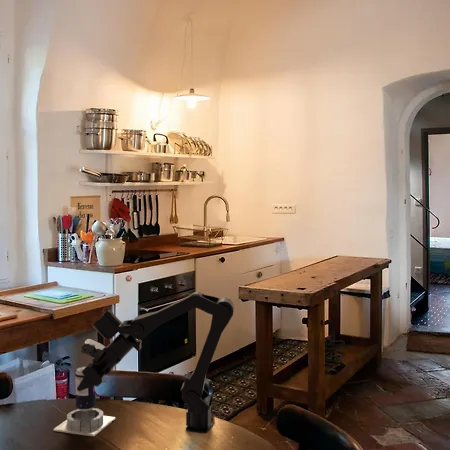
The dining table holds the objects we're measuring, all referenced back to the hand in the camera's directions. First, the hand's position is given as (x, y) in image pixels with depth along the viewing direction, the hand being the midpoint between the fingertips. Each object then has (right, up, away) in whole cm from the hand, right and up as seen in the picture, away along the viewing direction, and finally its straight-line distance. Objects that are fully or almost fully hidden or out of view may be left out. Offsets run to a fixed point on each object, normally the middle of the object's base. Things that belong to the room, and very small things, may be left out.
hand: (81, 386), depth 172 cm
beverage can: (+1, -7, 0) cm, 7 cm away
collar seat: (+1, -12, +1) cm, 12 cm away
